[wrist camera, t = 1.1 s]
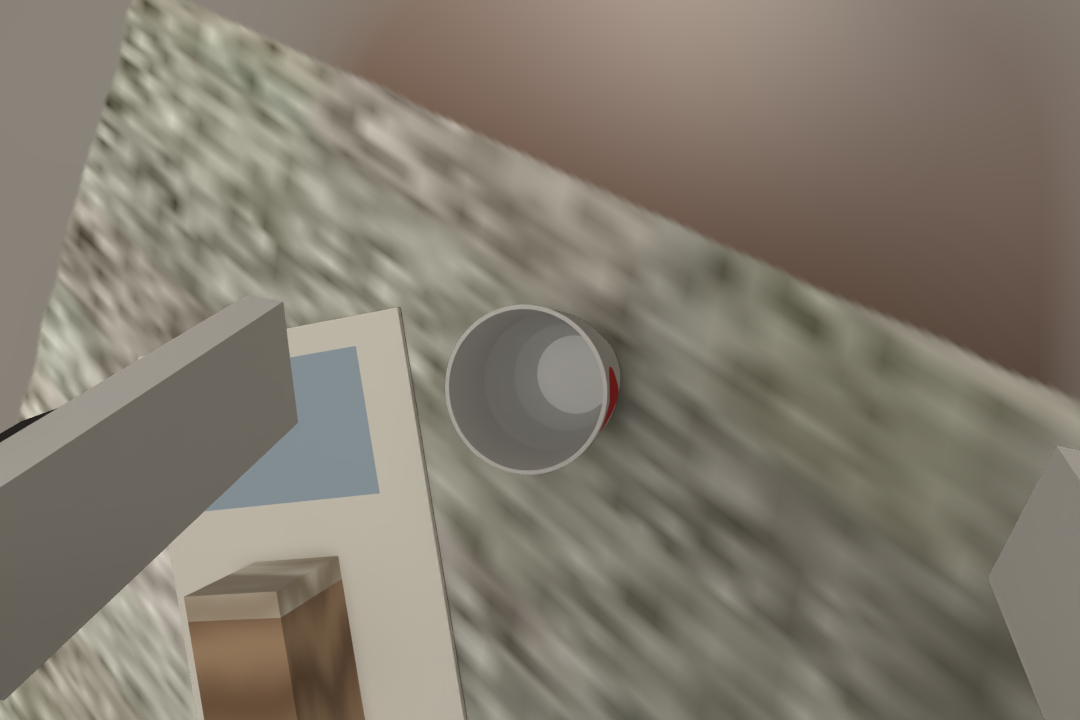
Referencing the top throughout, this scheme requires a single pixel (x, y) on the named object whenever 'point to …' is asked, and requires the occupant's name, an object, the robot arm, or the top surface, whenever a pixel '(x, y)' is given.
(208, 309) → the top surface
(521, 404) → the cup
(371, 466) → the mat
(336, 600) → the block
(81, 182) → the top surface
